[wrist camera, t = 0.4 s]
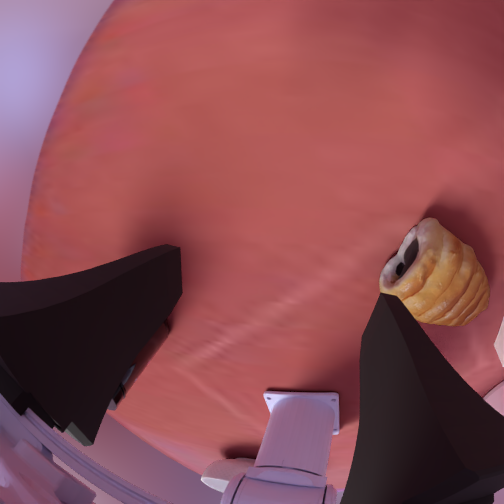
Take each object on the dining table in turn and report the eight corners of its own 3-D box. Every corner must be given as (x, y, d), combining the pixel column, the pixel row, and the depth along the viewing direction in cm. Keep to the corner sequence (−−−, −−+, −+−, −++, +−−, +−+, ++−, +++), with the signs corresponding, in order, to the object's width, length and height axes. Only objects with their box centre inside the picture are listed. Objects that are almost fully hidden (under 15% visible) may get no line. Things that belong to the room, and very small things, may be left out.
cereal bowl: (210, 437, 39) (195, 470, 33) (306, 461, 35) (298, 497, 29) (214, 463, 47) (203, 488, 41) (288, 482, 43) (280, 508, 37)
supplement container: (118, 317, 29) (63, 376, 20) (123, 277, 26) (52, 342, 17) (165, 349, 29) (116, 418, 20) (178, 313, 25) (117, 394, 17)
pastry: (498, 268, 15) (519, 296, 12) (448, 328, 18) (459, 360, 15) (419, 205, 15) (437, 227, 12) (367, 282, 19) (371, 315, 16)
